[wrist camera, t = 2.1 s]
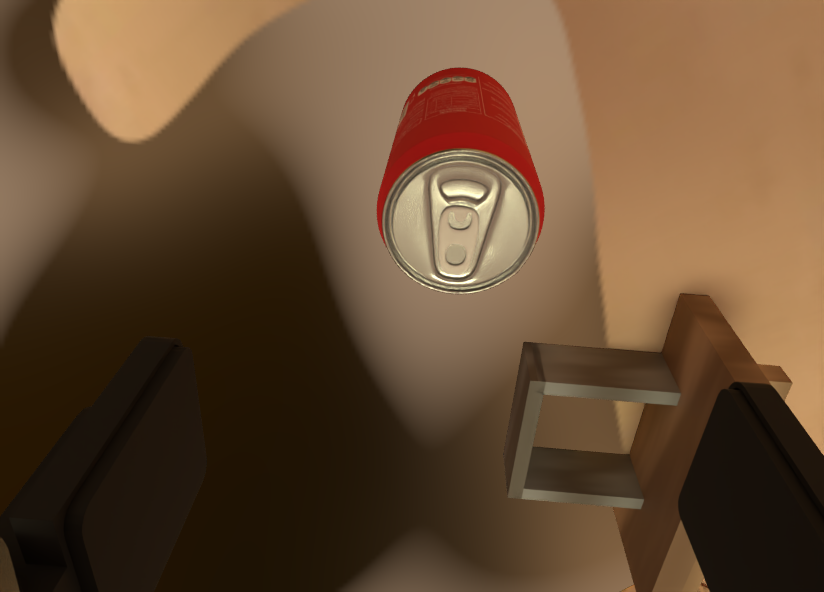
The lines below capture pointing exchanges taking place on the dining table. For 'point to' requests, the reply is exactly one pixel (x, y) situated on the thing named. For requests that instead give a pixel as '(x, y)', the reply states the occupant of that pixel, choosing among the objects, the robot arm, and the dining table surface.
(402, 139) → the beverage can
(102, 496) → the robot arm
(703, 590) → the teacup with lid
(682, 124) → the dining table surface
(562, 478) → the can rack
